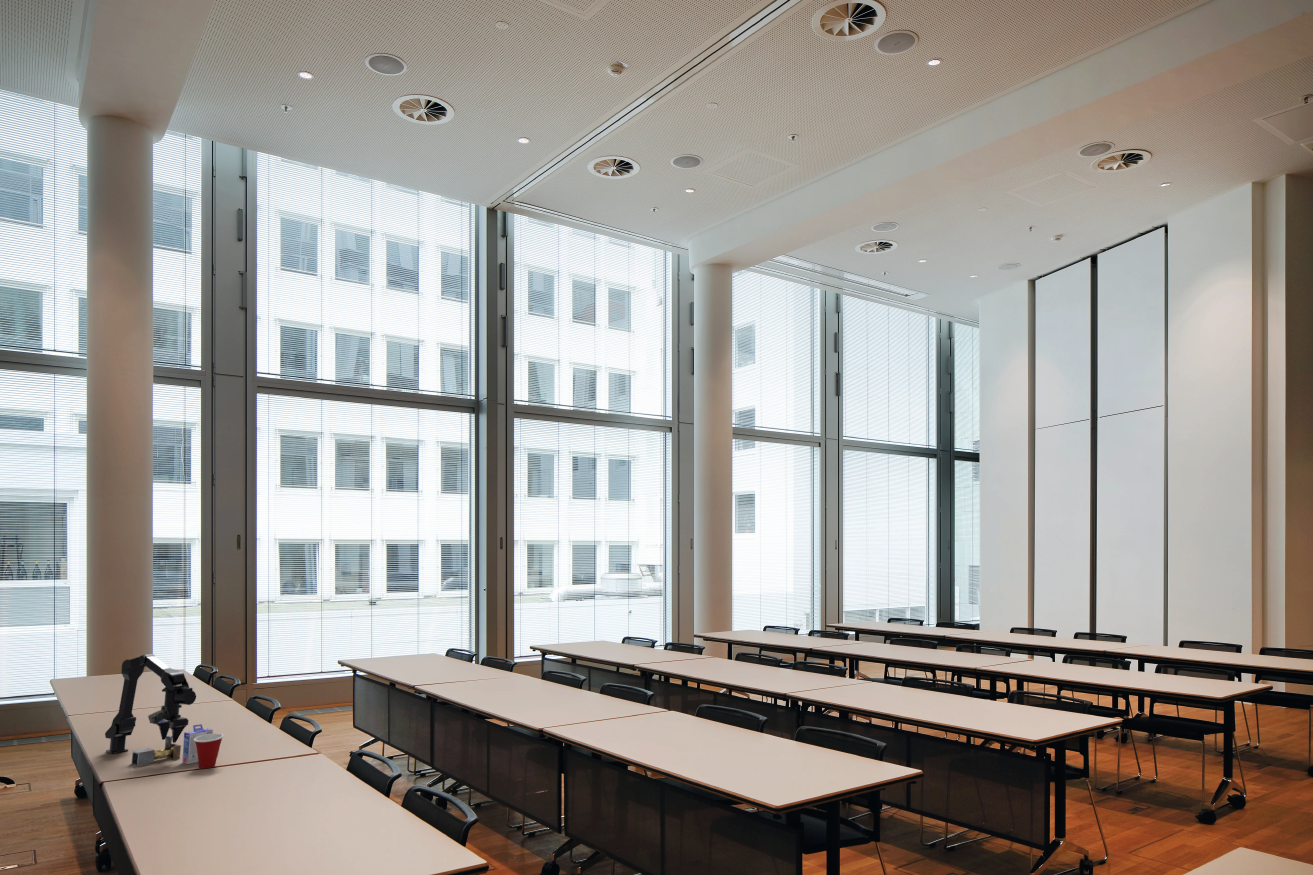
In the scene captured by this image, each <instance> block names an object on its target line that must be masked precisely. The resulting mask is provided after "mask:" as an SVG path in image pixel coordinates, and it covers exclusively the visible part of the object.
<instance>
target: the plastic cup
mask: <svg viewBox="0 0 1313 875" xmlns="http://www.w3.org/2000/svg"><path fill="white" fill-rule="evenodd" d="M223 738H224V733H223V734H222V733H217V732H216V733H213V734H206V735H202V736H198V737H196V738H194V741H195V743H196V747H197V755H198V762H197V763H198V768H199V769H211V768H214V767H215V766H216V763H217V759H218V757H219V756H218V755H219V753H220V746H221V744H222V741H223Z"/></svg>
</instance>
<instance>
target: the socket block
mask: <svg viewBox="0 0 1313 875" xmlns="http://www.w3.org/2000/svg"><path fill="white" fill-rule="evenodd" d="M173 747H174V752H173V756H172V757H167V759H171V760H176V759H180V758H181V747H182V745H181V744H178V743H173V742H172V745H171V748H173Z"/></svg>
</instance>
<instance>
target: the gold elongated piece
mask: <svg viewBox="0 0 1313 875" xmlns="http://www.w3.org/2000/svg"><path fill="white" fill-rule="evenodd" d="M164 742H165V744H164V749H163V748H162V749H158V750H157V749H156V750H155V751H154V761H156V760H160V759H168V757H172V756H173V752H174V747H173V748H171V745H172V744H173V741H172V735H167V736H166V738H165V741H164Z"/></svg>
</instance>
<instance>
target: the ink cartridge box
mask: <svg viewBox="0 0 1313 875" xmlns="http://www.w3.org/2000/svg"><path fill="white" fill-rule="evenodd" d="M196 727H198V728H196ZM192 728H193V729H192V730H191V731H186V732H184V733H183V748H182V763H183V764H185V765H190V764H195V763H198V755H197V747H196V743H195V741H194V738H196V737H198V736H202V735H206V734H214V729H211V728H203V724H202V723H199V724H194V725H192Z"/></svg>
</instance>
